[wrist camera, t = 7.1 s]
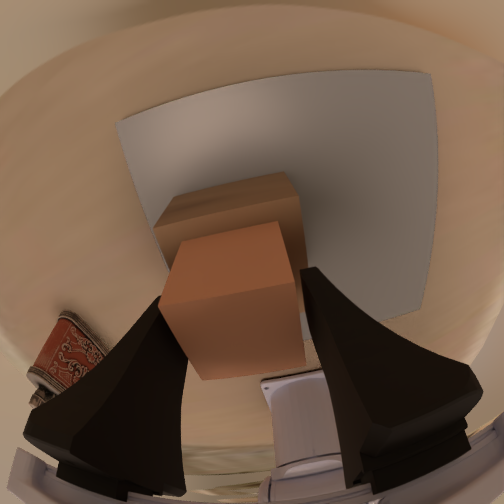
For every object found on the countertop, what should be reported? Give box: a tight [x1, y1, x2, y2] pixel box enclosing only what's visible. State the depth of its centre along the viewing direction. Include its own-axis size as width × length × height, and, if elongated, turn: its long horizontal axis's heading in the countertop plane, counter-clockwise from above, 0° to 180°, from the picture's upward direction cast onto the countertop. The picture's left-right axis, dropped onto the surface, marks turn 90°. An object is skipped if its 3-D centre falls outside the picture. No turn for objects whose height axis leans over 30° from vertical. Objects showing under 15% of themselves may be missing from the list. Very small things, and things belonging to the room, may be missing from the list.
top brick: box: [158, 221, 306, 380], centre depth 10 cm, size 4×4×4 cm
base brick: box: [152, 171, 309, 313], centre depth 14 cm, size 6×6×4 cm
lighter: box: [26, 310, 110, 409], centre depth 17 cm, size 8×3×10 cm, turn 17°
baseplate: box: [115, 70, 438, 341], centre depth 16 cm, size 18×18×1 cm
